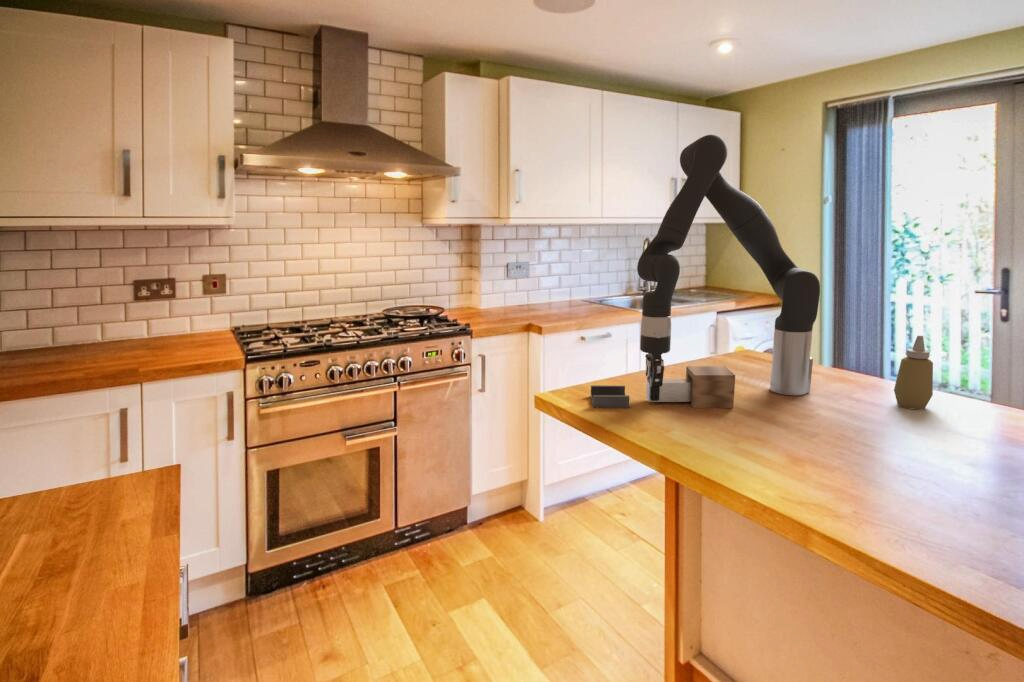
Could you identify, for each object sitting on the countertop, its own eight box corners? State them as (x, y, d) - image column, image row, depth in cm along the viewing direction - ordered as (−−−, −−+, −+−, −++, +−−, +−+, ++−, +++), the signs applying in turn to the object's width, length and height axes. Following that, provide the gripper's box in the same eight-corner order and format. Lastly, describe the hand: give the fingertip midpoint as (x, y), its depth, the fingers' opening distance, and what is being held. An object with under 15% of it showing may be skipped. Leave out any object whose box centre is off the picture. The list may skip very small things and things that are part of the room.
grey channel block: (624, 396, 164) (624, 385, 163) (629, 408, 154) (629, 396, 153) (590, 396, 164) (590, 385, 164) (593, 407, 155) (593, 396, 154)
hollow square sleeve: (723, 397, 162) (725, 366, 160) (733, 408, 153) (735, 375, 151) (685, 397, 162) (686, 366, 160) (692, 407, 153) (694, 375, 152)
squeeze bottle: (936, 412, 147) (946, 339, 144) (900, 410, 149) (908, 338, 145) (921, 402, 155) (931, 333, 151) (887, 400, 157) (895, 332, 153)
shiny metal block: (688, 397, 160) (689, 378, 159) (692, 401, 156) (693, 382, 155) (645, 397, 160) (646, 378, 159) (648, 401, 156) (649, 383, 155)
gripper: (636, 327, 162) (634, 389, 165) (645, 338, 148) (642, 406, 151) (665, 327, 161) (662, 389, 165) (676, 338, 147) (673, 406, 151)
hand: (653, 397), depth 158 cm, fingers closed on shiny metal block, 4 cm apart
